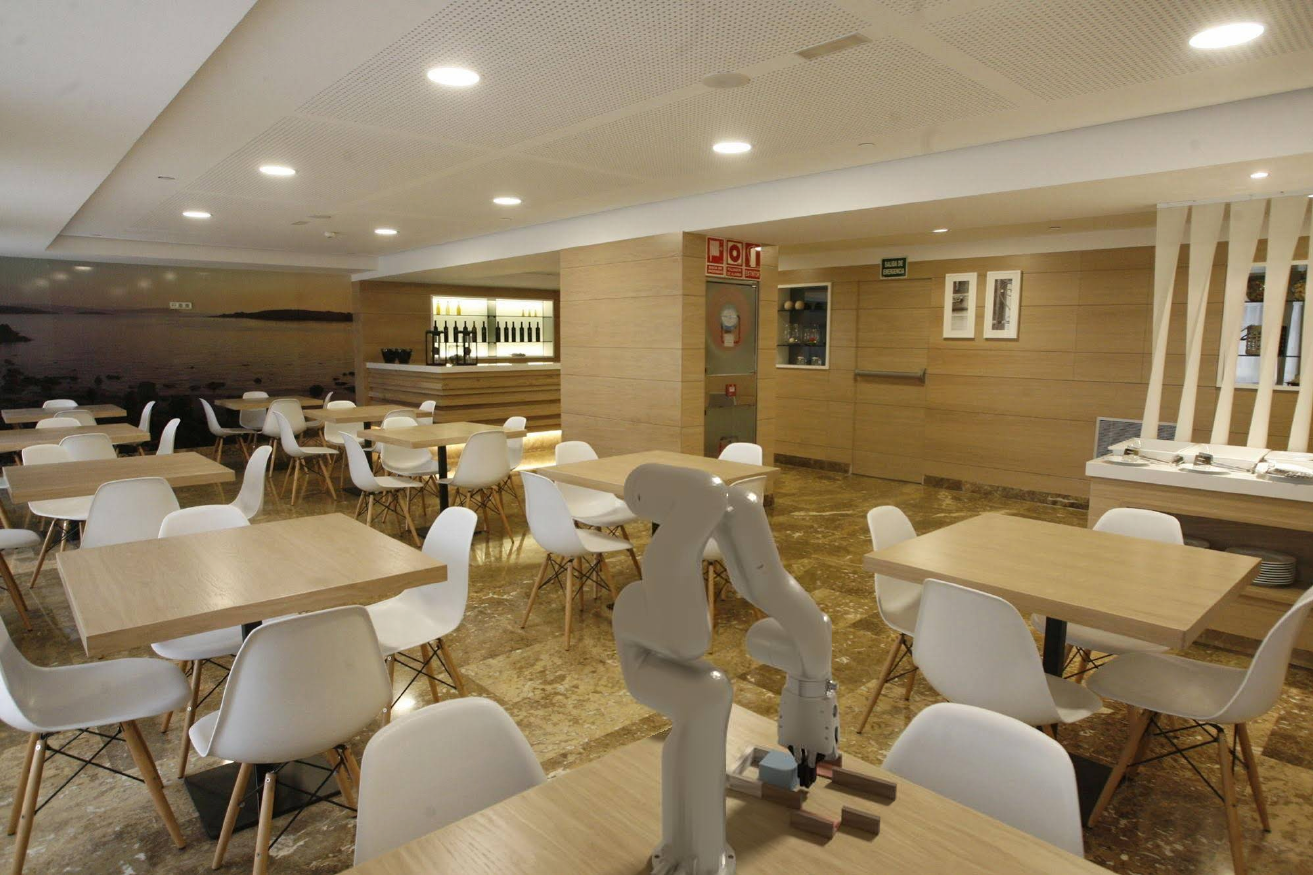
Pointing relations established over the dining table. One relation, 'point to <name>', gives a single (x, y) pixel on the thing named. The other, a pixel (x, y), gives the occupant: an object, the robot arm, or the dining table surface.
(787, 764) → the slate block
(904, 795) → the dining table surface
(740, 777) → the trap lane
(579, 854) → the dining table surface
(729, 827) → the dining table surface
